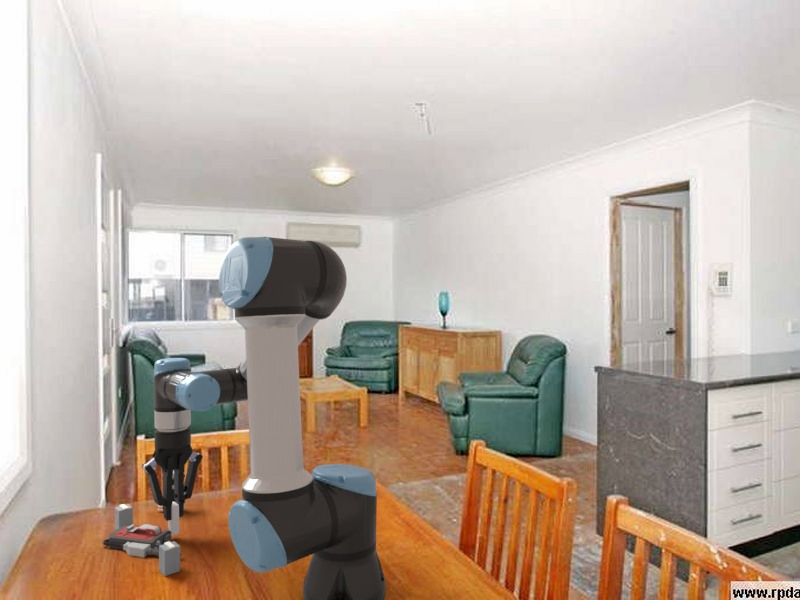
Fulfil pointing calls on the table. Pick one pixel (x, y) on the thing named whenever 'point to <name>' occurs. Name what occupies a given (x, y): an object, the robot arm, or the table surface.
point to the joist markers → (167, 551)
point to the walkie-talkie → (139, 539)
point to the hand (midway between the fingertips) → (173, 532)
